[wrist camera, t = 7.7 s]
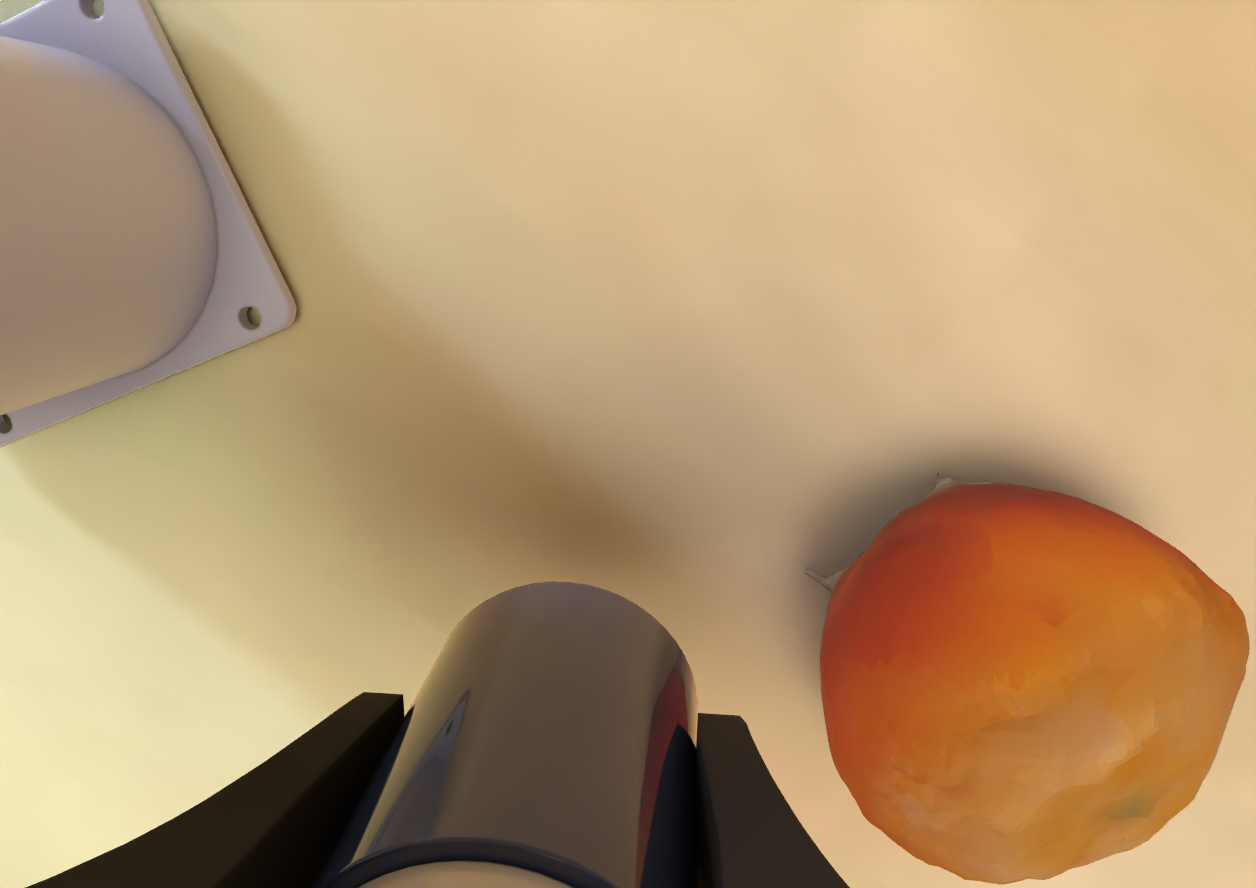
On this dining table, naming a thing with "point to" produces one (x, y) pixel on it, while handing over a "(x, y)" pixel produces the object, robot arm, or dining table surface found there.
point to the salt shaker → (537, 756)
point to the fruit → (1024, 680)
